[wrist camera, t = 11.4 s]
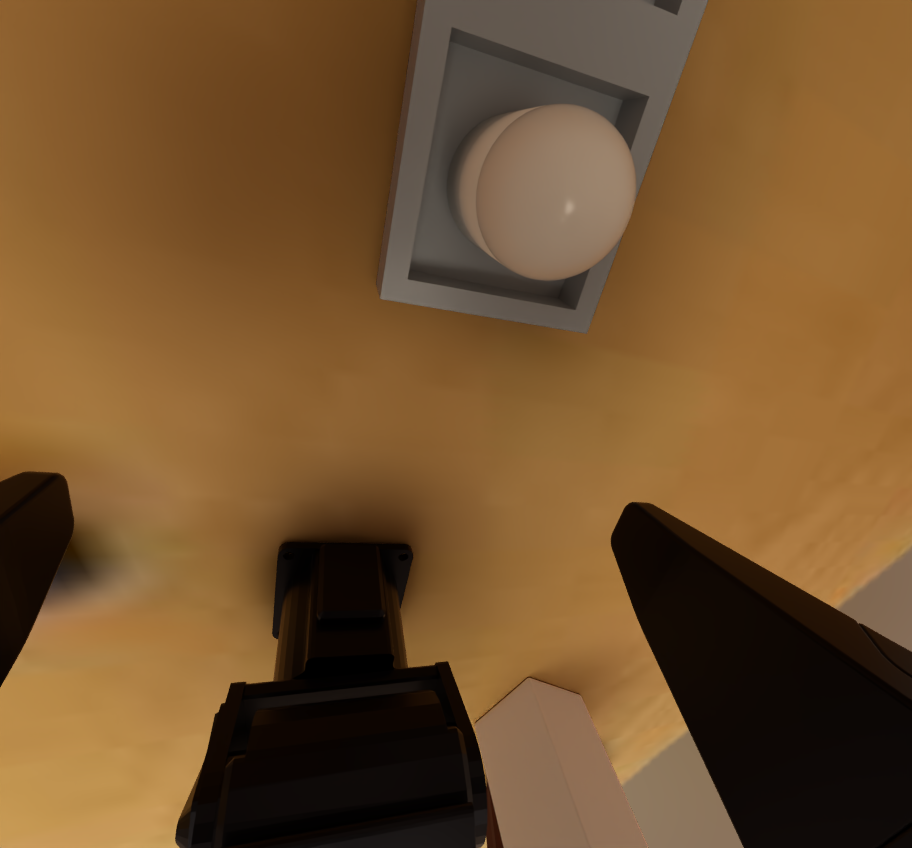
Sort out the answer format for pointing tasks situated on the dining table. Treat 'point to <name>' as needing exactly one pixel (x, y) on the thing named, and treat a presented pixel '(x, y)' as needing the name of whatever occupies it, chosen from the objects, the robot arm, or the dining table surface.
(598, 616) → the dining table surface
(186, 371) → the dining table surface
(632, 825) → the milk
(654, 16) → the grey flat rectangular tray
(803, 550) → the dining table surface
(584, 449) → the dining table surface
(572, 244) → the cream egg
